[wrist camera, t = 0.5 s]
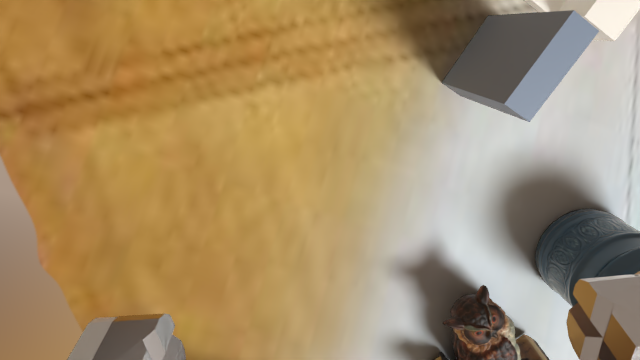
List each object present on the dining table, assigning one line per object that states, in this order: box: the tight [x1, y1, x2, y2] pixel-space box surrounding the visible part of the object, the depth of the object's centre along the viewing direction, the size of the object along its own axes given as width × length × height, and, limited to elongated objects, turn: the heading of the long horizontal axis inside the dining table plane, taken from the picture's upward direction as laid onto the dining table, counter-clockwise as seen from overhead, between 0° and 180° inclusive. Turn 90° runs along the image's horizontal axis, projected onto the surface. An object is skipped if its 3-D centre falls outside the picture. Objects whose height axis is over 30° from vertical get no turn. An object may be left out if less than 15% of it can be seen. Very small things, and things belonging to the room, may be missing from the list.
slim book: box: [442, 10, 599, 122], centre depth 45 cm, size 3×9×16 cm, turn 147°
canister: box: [535, 209, 640, 307], centre depth 54 cm, size 13×13×18 cm
